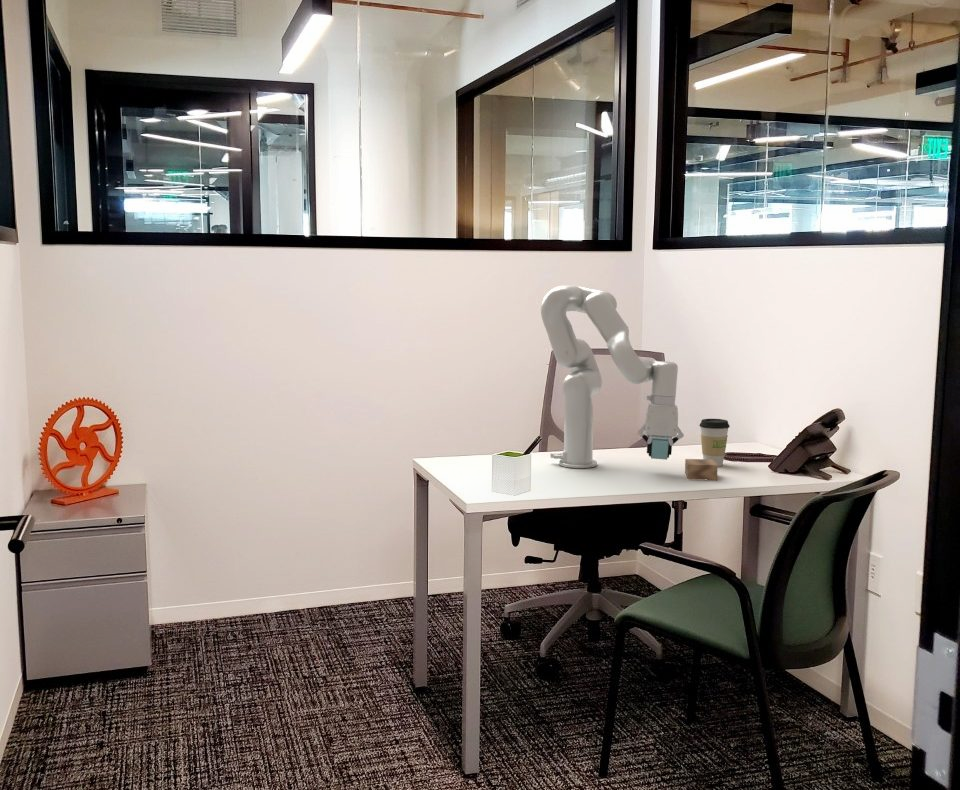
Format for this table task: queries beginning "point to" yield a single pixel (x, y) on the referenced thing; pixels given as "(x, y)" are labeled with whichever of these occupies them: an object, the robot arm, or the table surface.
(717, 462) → the coffee cup
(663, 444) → the teal block
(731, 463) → the table surface
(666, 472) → the table surface
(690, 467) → the walnut box
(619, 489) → the table surface
